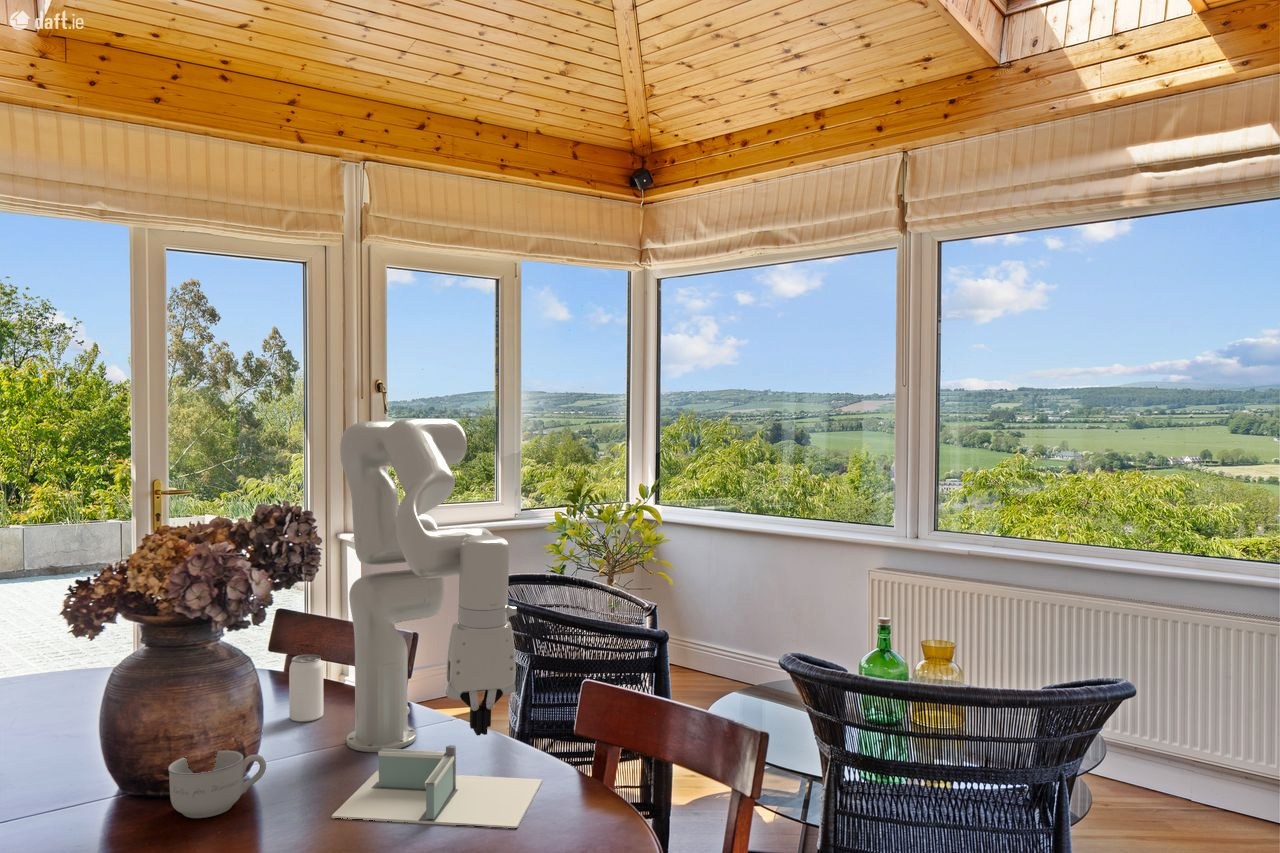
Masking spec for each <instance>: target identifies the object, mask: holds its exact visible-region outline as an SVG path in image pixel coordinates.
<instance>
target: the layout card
mask: <svg viewBox="0 0 1280 853" xmlns="http://www.w3.org/2000/svg"><path fill="white" fill-rule="evenodd" d="M543 780H544V779H541V778H540V779H539V778H521V777H501V776H481V775H462V774H461V775H460V774H456V789H455V790H453V791H452V792H451V793H450V795H449V796H448V798H447V799H446V801H445V803H444V804H443V806H442V807H441V809H440V810H439V812H438V813H437V815H436V817H435V818H434V819H426V789H417V788H398V787H379V770H376V771H375V772H374V773H372V775H370V777H369V778H368V779H367V780H366V781H365V782H364V783H363V784H362V785H361V786H360V787H359V788H358V789H357V790H356V791H355V792H353V794H352V795H351V796H349V798H348V799H347V800H345V802H344V803H343V804H341V806H339V808H338V809H336V811H335V812H333V813H332V815H331V819H335V818H341V819H340V820H352V819H363V820H362V821H369V820H373V821H374V820H375V822H387V821H390V822H391V821H392V822H391V823H404V822H406V823H407V822H408V823H407V824H424V825H425V824H426V825H442V826H456V825H479V826H495V827H497V826H498V827H507V828H506V829H508V828H517V827H518V828H519V826H520V824H521V823H520V822H522V821H523V818H524V817H525V815H526V813H527V812H528V810H529V808H530V806H531V805H532V803H533V800H534V798H535V797H536V795H537V792H538V791H539V790H540V787H541V785H542V783H543ZM527 809H528V810H527ZM526 811H527V812H526ZM342 818H343V819H342ZM347 818H348V819H347ZM521 820H522V821H521ZM518 828H517V829H518Z"/></svg>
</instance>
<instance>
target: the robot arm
mask: <svg viewBox="0 0 1280 853" xmlns="http://www.w3.org/2000/svg"><path fill="white" fill-rule="evenodd" d="M339 448H340V449H339V452H340V461H341V466H342V470H343V472H344V475H345V476H344V477H345V478H346V480H347V484H348V487H349V491H350V496H351V506H352V507H351V511H352V514H351V515H352V525H353V528H352V529H353V541H354V550H355V554H356V558H357V559H358V561H359V562H360V563H361V564H363V565H367V566H386V565H395V564H396V565H397V564H404V563H405V564H406V563H407V565H408V567H409V569H403V570H392V571H383V572H381V571H380V572H374V573H369V574H366V575H362V576H361V577H359V578H358V579H356V580H355V581H354V582H353V583H352V584H351V587H350V590H349V593H348V595H349V596H348V597H349V607H350V613H351V618H352V626H353V634H354V635H353V636H354V712H355V713H354V719H355V721H354V722H355V723H354V724H355V725H354V726H355V727H354V729H355V730H353V731H351V732H350V733H349V734H348V735H347V736H346V745H347V746H348V747H349V749H351V750H352V749H353V750H355V751H359V752H365V753H378V752H379V751H380V750H381V749H402V748H403V749H404V748H405V747H409V745H411V744H413V743H414V742H415V741H416V739H417V731H416V730H415V728H413V727H412V726H409V725H408V720H409V719H408V715H409V714H410V712H411V709H410V707H409V706H408V699H409V697H408V696H409V694H408V687H409V686H408V682H409V681H408V653H409V652H408V646H407V644H408V643H407V641H406V639H405V638H404V636H403V635H402V634H401V633H400V632H399V631H398V630H397V628H396V627H395V625H396V624H397V623H402V622H409V621H415V620H422V619H428V618H431V617H435V616H436V615H438V614H439V613H440V612H441V610H442V608H443V606H444V601H445V584H444V577H451V576H458V577H459V579H458V580H459V581H458V582H459V583H458V614H457V615H458V616H457V617H458V619H457V620H458V621H457V622H454V623H453V624H452V628H451V631H450V636H449V642H448V650H447V659H446V660H447V661H446V680H447V687H446V690H445V694H446V697H447V699H452V700H458V701H459V700H461V701H462V702H463V703H464V704H466V705H467V706H468V707H469V728H470V729H471V730H473V732H474V734H475V736H481V735H484V736H486V735H488V728H491V727H492V709H493V708H494V707H495V704H496V703H497V702H498V701H499V700H500V699H501V698H502V696H507V695H509V694H513V693H514V692H516V683H515V681H516V653H515V650H516V649H515V641H514V634H513V627H512V623H511V622H510V621H509V619H510V617H514V616H517V614H518V611H517V610H518V609H517V607H516V606H512V605H509V577H510V575H509V572H510V571H509V570H510V567H509V566H510V544H509V543H508V540H507V539H505V538H504V537H501V536H499V535H494V534H493V533H492V532H491V531H490V530H488V528H486V527H482V526H464V527H452V528H451V527H449V528H439V526H438V524H437V522H436V520H435V518H434V517H433V516H431V515H430V514H429V513H428V512H429V511H431V510H433V509H435V508H436V507H438V506H439V505H441V504H442V503H444V502H446V500H447V499H448V498H449V497H451V495H452V493H453V491H454V490H455V485H456V481H455V480H456V479H455V476H454V474H453V472H452V470H451V468H450V466H451V465H457V464H459V463H460V462H462V460H463V459H464V458H465V456H466V455H467V450H468V441H467V436H466V432H465V431H464V429H463V427H462V426H461V425H460V423H458V421H455V419H452V418H447V417H445V418H444V417H441V418H440V417H438V418H437V417H436V418H435V417H434V418H431V417H430V418H429V417H428V418H427V417H426V418H423V417H422V418H421V417H420V418H418V417H417V418H405V419H400V420H370V421H369V420H368V421H362V422H357V423H354V424H351V425H350V426H347V428H346V429H344V432H343V434H342V436H341V439H340V445H339ZM449 465H450V466H449ZM382 467H392V468H393V470H394V473H395V475H396V477H397V479H398V480H399V484H400V485H401V488H402V490H403V491H404V493H405V495H404V496H403V499H402V500H401V503H400V505H399V491H398V487H397V485H396V483H395V482H394V480H393V479H392V477H391V476H390V475H389V473H387V472H386V470H384V469H383V468H382ZM482 691H483V694H482V700H481V702H480V703H479V697H478V692H482Z"/></svg>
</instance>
